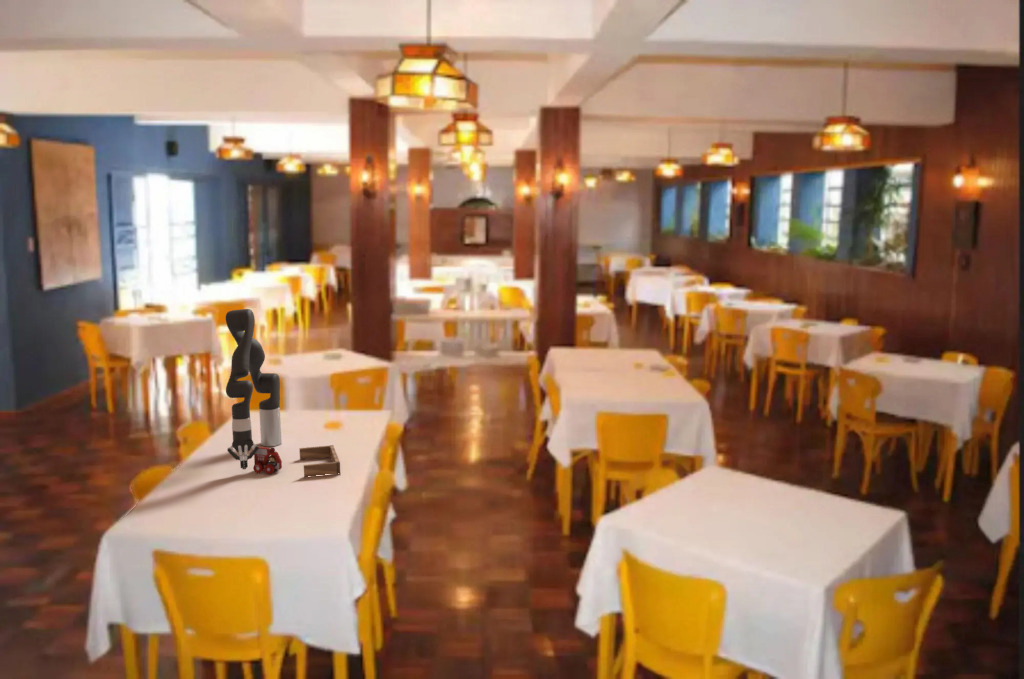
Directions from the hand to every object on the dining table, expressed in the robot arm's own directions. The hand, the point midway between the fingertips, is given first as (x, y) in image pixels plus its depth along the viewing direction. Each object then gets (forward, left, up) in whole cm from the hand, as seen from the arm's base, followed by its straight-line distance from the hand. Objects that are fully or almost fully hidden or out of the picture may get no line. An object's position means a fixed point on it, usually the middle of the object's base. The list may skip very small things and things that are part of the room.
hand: (244, 468), depth 376 cm
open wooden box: (0, +30, -2) cm, 30 cm away
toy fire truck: (0, +9, -2) cm, 10 cm away
